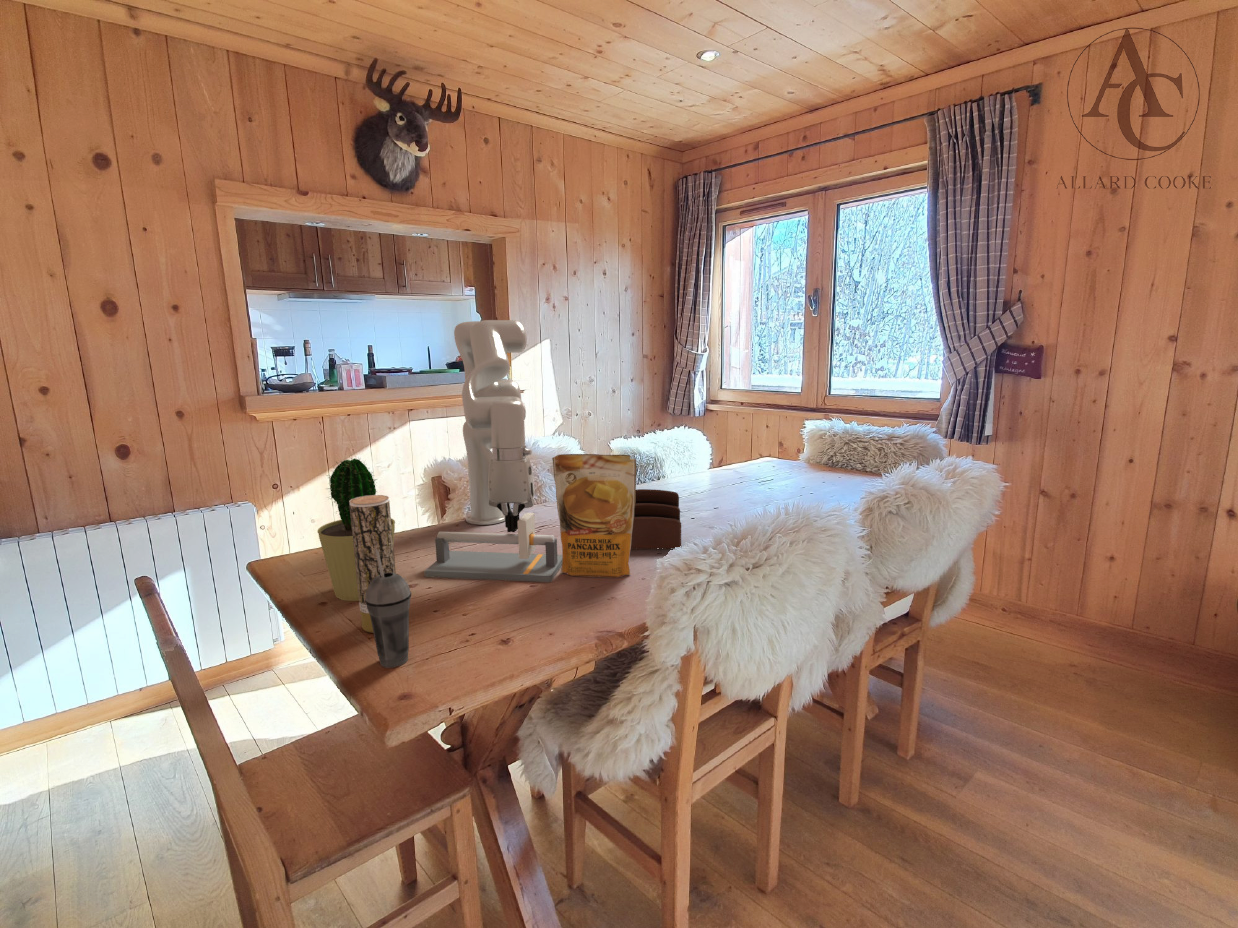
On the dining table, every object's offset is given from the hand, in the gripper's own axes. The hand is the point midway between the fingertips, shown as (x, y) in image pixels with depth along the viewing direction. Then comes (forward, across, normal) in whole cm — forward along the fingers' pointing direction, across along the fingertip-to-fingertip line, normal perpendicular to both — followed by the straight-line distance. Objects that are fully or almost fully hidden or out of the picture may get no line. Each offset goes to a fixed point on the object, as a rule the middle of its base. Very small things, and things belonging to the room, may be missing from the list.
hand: (512, 530), depth 143 cm
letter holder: (+10, -28, -22) cm, 38 cm away
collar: (+6, -3, 0) cm, 7 cm away
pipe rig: (+10, +4, 0) cm, 11 cm away
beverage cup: (+10, +7, +44) cm, 46 cm away
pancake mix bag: (+10, -20, 0) cm, 22 cm away
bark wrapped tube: (+10, +16, +32) cm, 37 cm away
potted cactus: (+10, +29, +16) cm, 35 cm away
